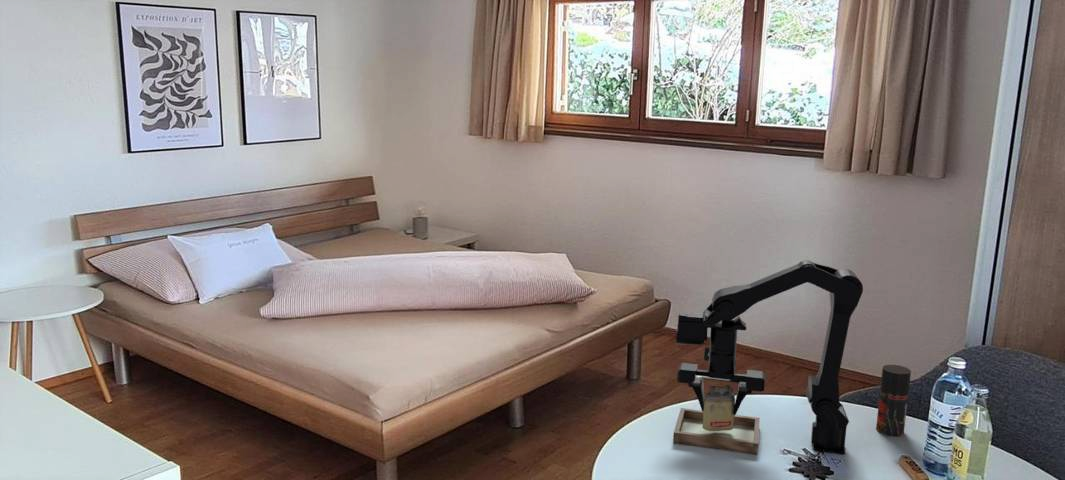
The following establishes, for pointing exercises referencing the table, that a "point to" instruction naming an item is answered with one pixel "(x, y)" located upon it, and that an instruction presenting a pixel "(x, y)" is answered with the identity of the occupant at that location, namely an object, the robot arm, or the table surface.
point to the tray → (717, 433)
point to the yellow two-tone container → (719, 409)
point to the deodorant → (893, 400)
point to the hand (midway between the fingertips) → (718, 412)
